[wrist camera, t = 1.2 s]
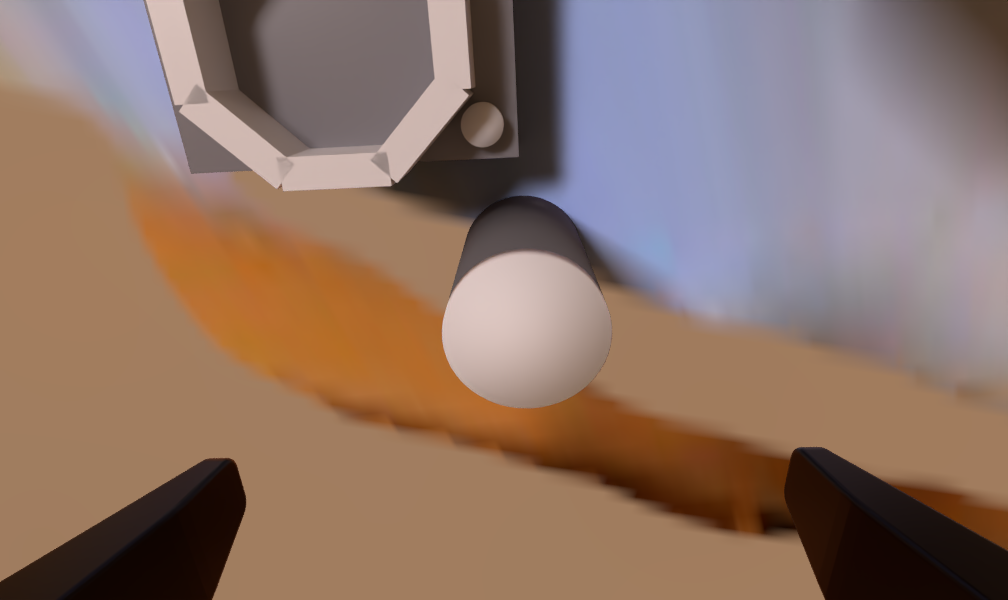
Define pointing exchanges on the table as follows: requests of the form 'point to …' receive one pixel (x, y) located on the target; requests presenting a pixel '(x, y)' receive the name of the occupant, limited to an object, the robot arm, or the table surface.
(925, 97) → the table surface
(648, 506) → the table surface
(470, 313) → the grey cylinder plug
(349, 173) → the grey block with ring
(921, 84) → the table surface
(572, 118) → the table surface
